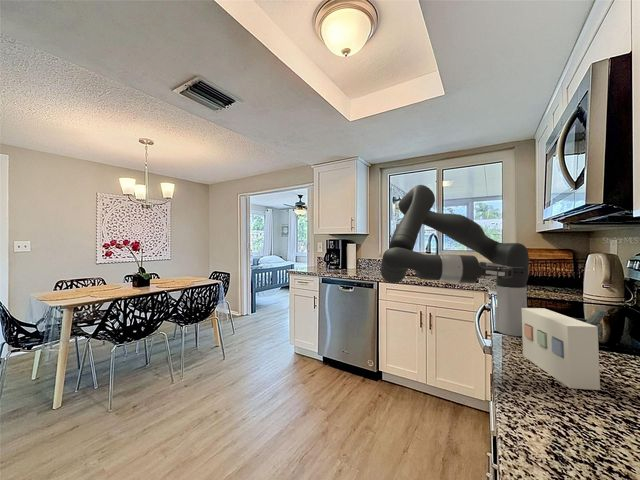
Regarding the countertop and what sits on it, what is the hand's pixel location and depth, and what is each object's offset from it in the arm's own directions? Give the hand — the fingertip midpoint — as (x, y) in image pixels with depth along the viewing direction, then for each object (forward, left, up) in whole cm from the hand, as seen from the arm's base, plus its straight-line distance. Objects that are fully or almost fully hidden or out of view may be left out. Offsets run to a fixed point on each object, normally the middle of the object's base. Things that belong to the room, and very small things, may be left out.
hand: (524, 272), depth 74 cm
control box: (+4, +5, -25) cm, 26 cm away
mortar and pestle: (+1, +38, -26) cm, 46 cm away
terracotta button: (-2, +7, -19) cm, 20 cm away
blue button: (+7, -1, -19) cm, 20 cm away
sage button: (+3, +3, -19) cm, 19 cm away
